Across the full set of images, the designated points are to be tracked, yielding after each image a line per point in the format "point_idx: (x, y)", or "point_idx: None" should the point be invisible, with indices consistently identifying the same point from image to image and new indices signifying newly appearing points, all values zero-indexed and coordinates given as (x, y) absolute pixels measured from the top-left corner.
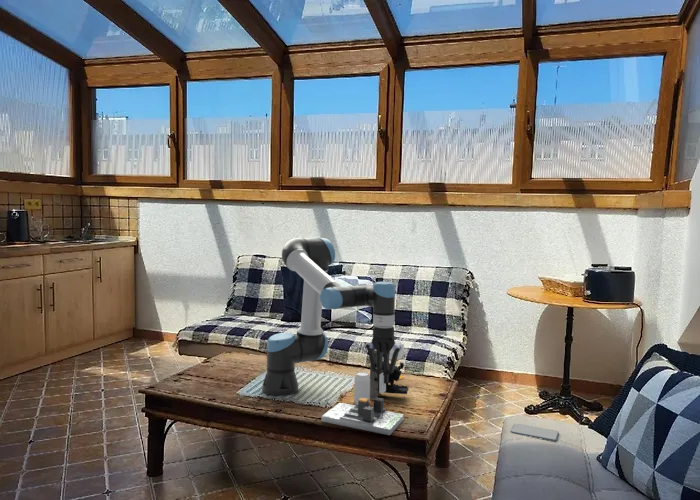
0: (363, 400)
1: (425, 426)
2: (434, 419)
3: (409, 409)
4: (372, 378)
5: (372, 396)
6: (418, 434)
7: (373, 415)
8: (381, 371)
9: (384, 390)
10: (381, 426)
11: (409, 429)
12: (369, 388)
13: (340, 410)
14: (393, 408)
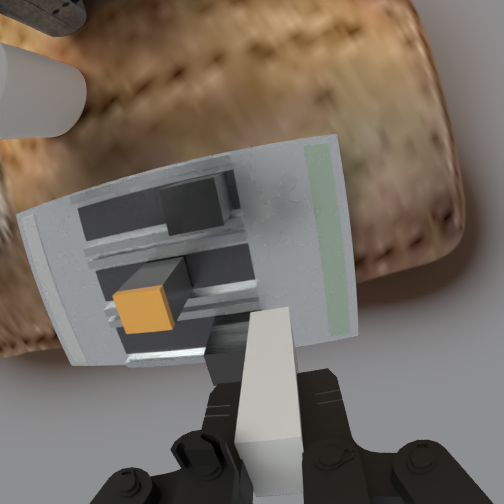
0: (155, 330)
1: (439, 153)
2: (433, 59)
3: (283, 5)
4: (12, 3)
5: (68, 27)
6: (442, 246)
7: None
8: (241, 481)
9: (294, 345)
10: (313, 332)
11: (399, 223)
12: (43, 74)
13: (69, 287)
14: (209, 39)
